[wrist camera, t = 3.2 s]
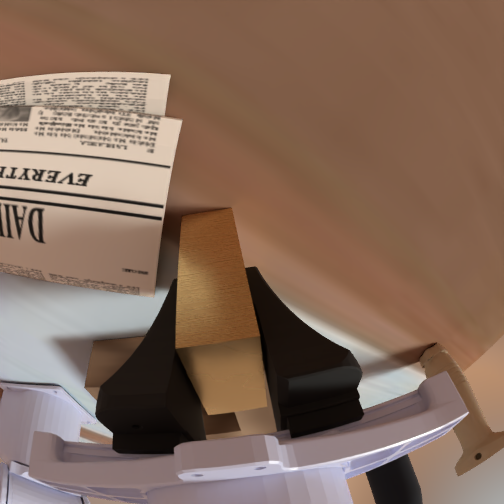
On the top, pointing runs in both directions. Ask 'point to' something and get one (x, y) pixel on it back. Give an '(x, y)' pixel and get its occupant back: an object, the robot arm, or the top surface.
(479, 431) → the handle
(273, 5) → the top surface
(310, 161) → the top surface
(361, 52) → the top surface
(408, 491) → the wine bottle
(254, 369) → the wooden block
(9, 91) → the newspaper
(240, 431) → the well block
